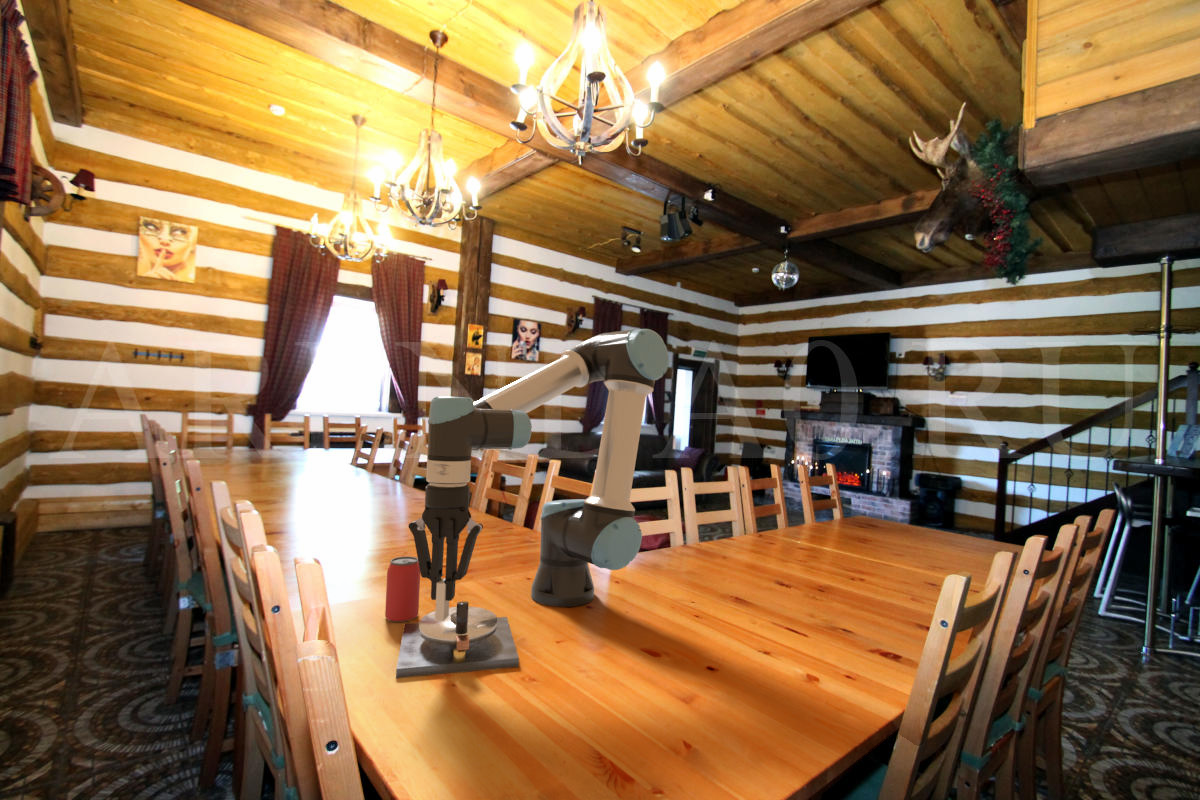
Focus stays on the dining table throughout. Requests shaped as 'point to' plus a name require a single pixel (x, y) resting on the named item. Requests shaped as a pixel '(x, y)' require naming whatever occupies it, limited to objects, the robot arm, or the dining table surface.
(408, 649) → the base plate
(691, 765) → the dining table surface
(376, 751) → the dining table surface
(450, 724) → the dining table surface
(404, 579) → the beer can
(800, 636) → the dining table surface
